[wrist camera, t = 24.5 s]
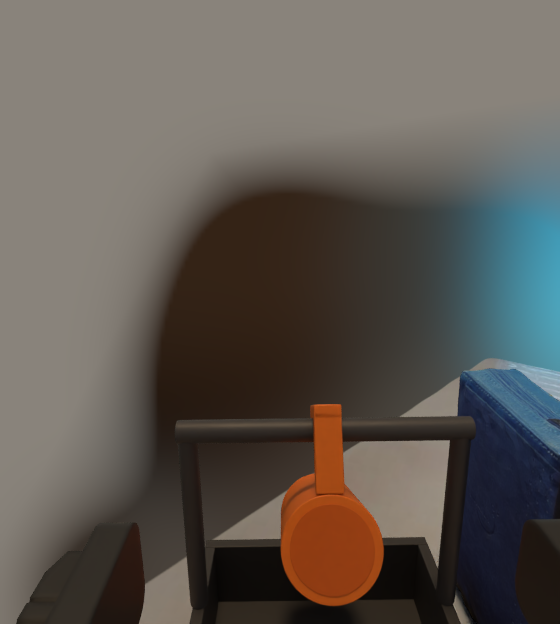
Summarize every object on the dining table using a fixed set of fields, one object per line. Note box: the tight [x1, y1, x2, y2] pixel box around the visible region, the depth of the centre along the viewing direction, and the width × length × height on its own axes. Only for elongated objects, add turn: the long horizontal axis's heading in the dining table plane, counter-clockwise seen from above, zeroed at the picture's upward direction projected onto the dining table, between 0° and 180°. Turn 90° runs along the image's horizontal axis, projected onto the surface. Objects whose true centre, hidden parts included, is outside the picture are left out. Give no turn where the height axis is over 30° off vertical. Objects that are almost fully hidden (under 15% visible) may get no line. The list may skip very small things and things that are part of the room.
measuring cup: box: [281, 404, 384, 606], centre depth 30 cm, size 10×6×9 cm
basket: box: [175, 416, 476, 624], centre depth 31 cm, size 18×12×20 cm, turn 90°
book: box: [456, 369, 560, 624], centre depth 32 cm, size 14×5×20 cm, turn 2°
